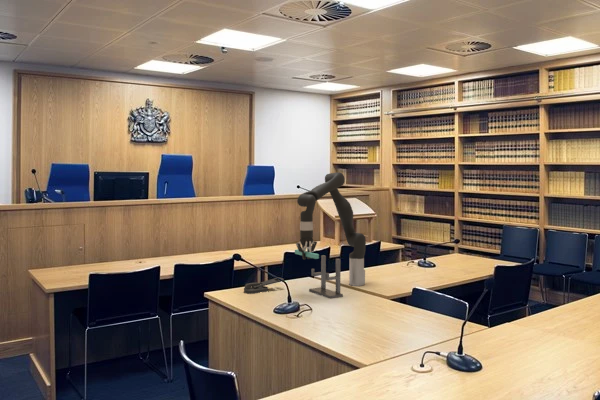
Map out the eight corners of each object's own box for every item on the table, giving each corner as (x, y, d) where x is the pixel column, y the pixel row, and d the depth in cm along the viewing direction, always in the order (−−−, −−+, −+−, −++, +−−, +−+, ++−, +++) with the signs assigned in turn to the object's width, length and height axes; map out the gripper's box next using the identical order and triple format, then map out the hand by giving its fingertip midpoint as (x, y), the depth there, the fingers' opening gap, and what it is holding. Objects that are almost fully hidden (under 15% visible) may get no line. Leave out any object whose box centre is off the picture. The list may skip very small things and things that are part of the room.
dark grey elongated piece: (285, 279, 324) (247, 283, 312) (285, 290, 325) (247, 294, 313) (278, 276, 332) (241, 280, 320) (279, 287, 333) (241, 291, 321)
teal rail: (298, 253, 315) (298, 249, 315) (318, 258, 297) (318, 254, 297) (294, 253, 314) (294, 249, 314) (315, 258, 295) (315, 254, 295)
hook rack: (321, 289, 325) (321, 254, 324) (342, 296, 307) (343, 259, 306) (309, 291, 321) (309, 255, 320) (330, 298, 302) (330, 261, 301)
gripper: (313, 228, 311) (313, 257, 312) (292, 229, 304) (292, 259, 305) (320, 229, 305) (320, 259, 306) (299, 230, 298) (299, 261, 299)
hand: (306, 259), depth 306 cm, fingers closed on teal rail, 2 cm apart
